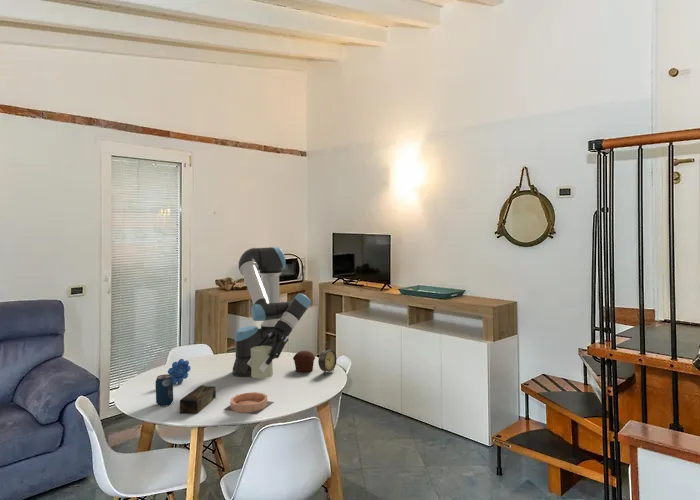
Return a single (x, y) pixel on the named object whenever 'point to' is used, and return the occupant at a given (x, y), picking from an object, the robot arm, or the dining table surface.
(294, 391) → the dining table surface
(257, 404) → the bowl
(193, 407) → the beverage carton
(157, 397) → the soda can
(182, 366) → the grapes
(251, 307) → the robot arm
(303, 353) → the muffin
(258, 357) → the can
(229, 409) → the mat
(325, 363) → the alarm clock
